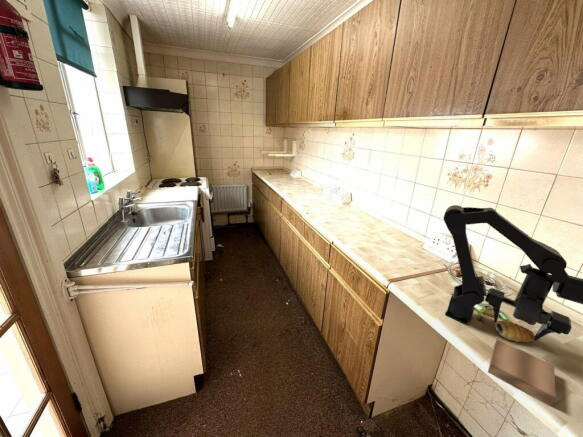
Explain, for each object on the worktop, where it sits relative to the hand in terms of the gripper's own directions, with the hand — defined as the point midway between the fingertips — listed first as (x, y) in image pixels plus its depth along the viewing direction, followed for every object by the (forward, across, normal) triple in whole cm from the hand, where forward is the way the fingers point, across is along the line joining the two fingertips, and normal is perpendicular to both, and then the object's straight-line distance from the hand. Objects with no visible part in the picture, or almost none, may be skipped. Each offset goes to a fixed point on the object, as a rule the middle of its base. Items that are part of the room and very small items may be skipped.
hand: (514, 330), depth 77 cm
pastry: (+3, +3, -1) cm, 5 cm away
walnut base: (+2, +3, -16) cm, 16 cm away
